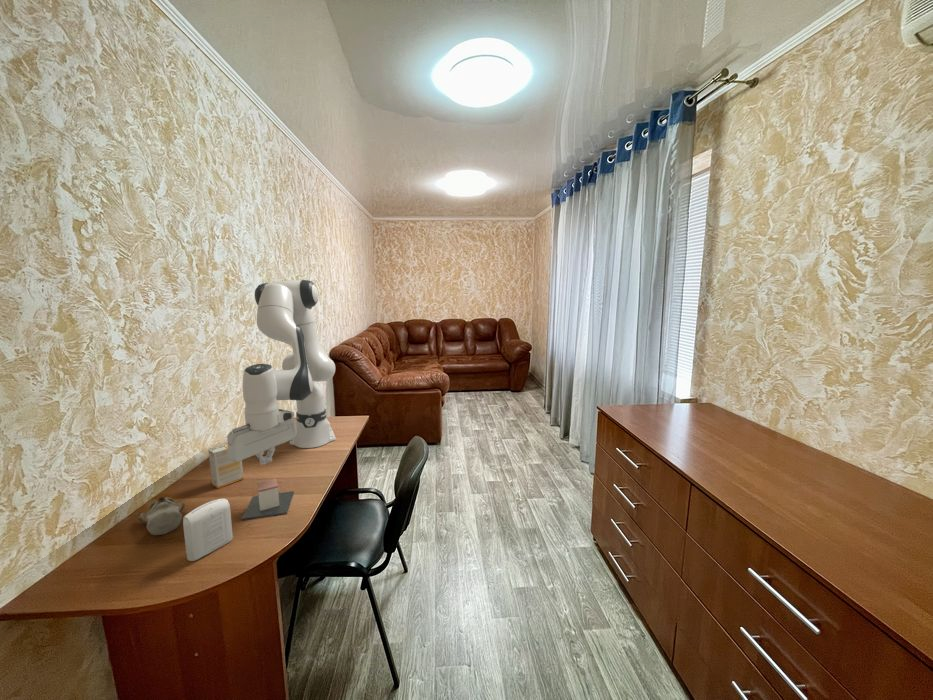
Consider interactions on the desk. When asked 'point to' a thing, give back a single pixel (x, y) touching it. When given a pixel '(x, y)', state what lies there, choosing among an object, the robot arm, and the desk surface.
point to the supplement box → (224, 467)
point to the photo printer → (207, 528)
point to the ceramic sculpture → (162, 516)
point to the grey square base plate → (283, 507)
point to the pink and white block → (268, 494)
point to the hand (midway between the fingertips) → (266, 462)
